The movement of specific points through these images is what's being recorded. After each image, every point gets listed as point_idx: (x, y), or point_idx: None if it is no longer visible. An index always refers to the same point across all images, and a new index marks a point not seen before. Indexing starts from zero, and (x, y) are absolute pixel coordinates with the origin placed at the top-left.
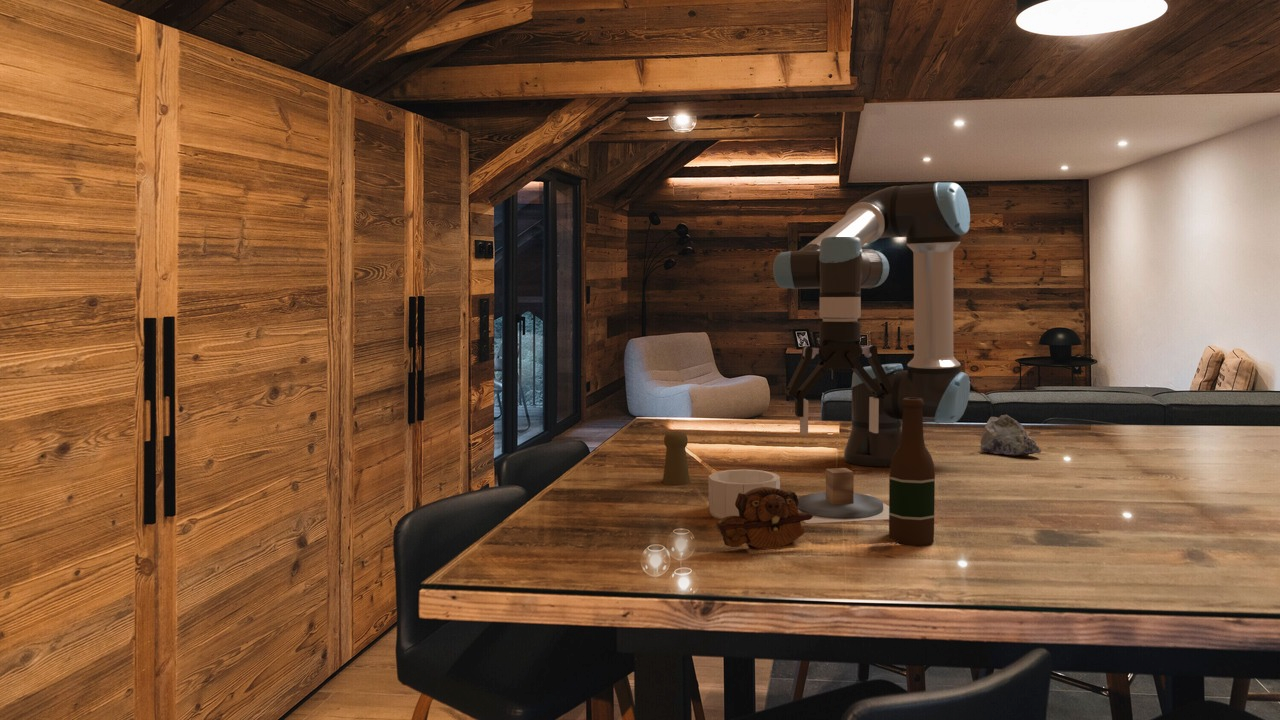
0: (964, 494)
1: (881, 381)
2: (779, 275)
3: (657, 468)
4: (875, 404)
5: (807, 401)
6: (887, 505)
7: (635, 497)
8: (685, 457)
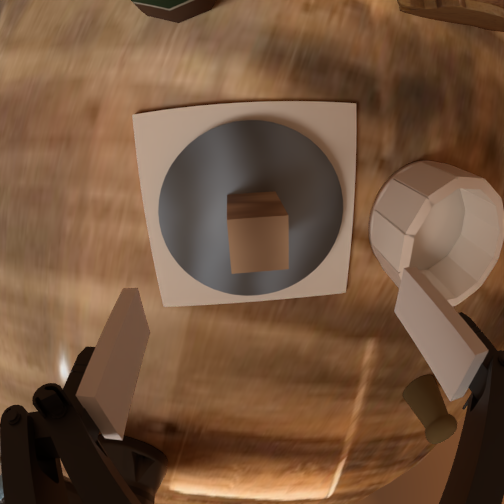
0: (18, 296)
1: (39, 478)
2: None
3: (401, 433)
4: (100, 372)
5: (476, 349)
6: (146, 219)
7: (489, 318)
8: (425, 410)
